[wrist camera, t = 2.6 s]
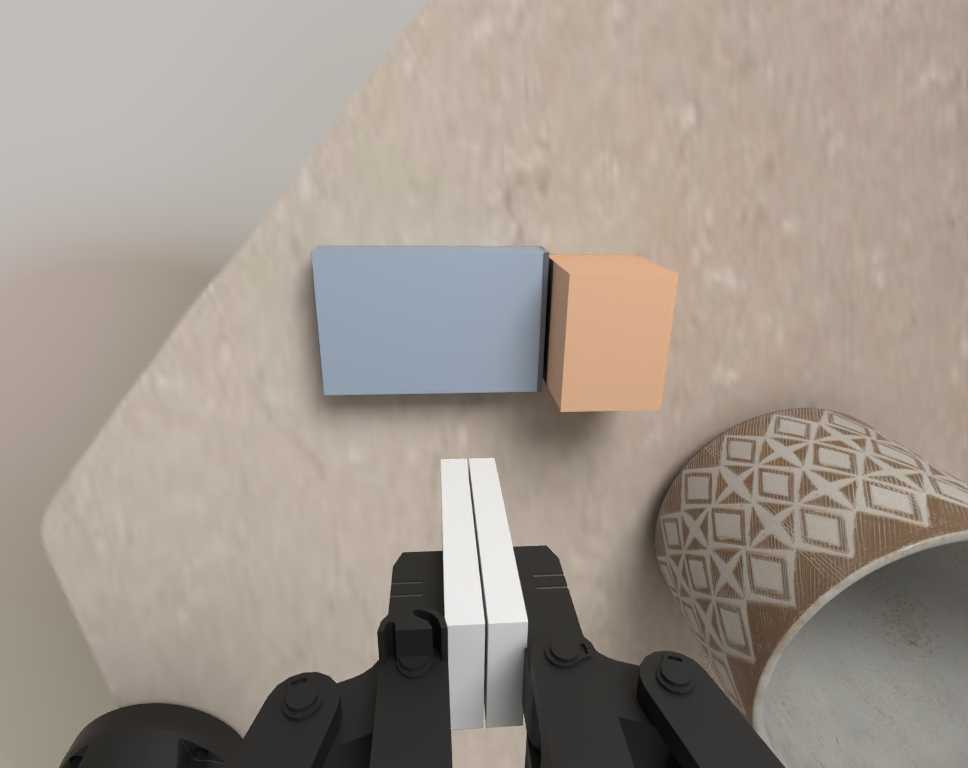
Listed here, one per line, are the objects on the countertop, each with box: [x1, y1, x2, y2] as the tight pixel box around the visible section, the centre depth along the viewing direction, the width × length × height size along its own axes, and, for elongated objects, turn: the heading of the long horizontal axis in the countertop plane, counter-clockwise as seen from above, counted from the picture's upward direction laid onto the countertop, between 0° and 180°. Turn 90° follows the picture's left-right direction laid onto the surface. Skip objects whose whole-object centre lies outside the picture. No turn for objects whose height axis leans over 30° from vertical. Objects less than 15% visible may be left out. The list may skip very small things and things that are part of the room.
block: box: [543, 255, 679, 412], centre depth 36 cm, size 6×8×7 cm
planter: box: [655, 408, 968, 768], centre depth 38 cm, size 19×19×16 cm
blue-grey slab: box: [311, 246, 549, 395], centre depth 37 cm, size 14×9×3 cm, turn 89°
